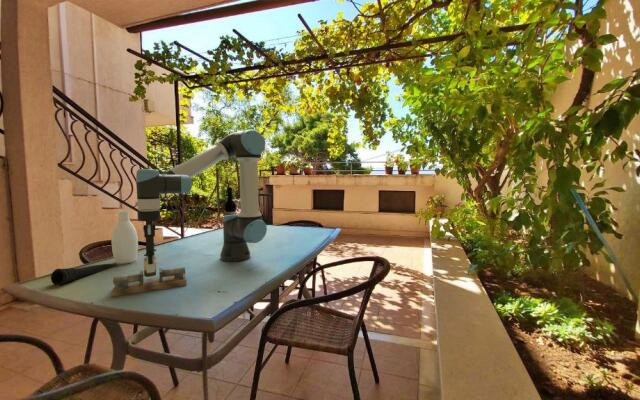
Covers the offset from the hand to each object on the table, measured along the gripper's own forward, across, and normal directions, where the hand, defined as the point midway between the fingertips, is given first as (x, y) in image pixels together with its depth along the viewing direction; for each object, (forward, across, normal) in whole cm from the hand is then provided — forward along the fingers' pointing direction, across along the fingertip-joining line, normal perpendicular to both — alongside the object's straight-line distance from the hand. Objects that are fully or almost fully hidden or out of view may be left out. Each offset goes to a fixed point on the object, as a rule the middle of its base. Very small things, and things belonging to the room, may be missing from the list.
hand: (151, 270), depth 115 cm
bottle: (+7, -45, -12) cm, 47 cm away
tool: (+7, -29, -25) cm, 39 cm away
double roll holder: (+6, 0, 0) cm, 6 cm away
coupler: (+2, 0, 0) cm, 2 cm away
